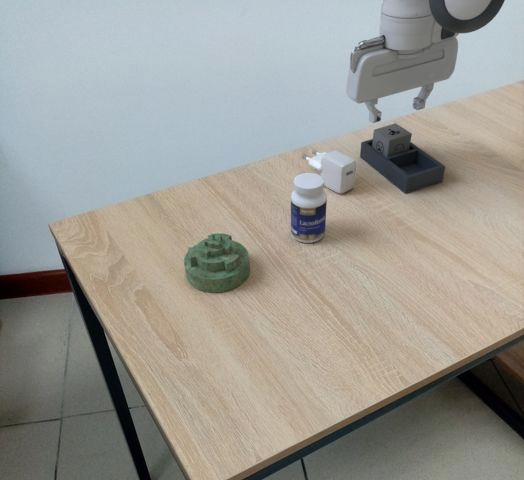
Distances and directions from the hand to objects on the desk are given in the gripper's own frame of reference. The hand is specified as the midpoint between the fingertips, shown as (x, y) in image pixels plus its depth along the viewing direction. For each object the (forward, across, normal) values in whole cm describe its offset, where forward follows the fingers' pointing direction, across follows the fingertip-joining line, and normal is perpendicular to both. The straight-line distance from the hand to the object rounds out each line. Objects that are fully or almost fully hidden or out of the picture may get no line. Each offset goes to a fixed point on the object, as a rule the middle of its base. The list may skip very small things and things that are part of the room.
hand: (396, 114), depth 97 cm
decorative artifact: (+9, -42, -15) cm, 46 cm away
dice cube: (+8, 0, 0) cm, 8 cm away
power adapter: (+9, -14, 0) cm, 17 cm away
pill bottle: (+9, -25, -13) cm, 30 cm away
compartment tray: (+9, 0, -3) cm, 10 cm away
